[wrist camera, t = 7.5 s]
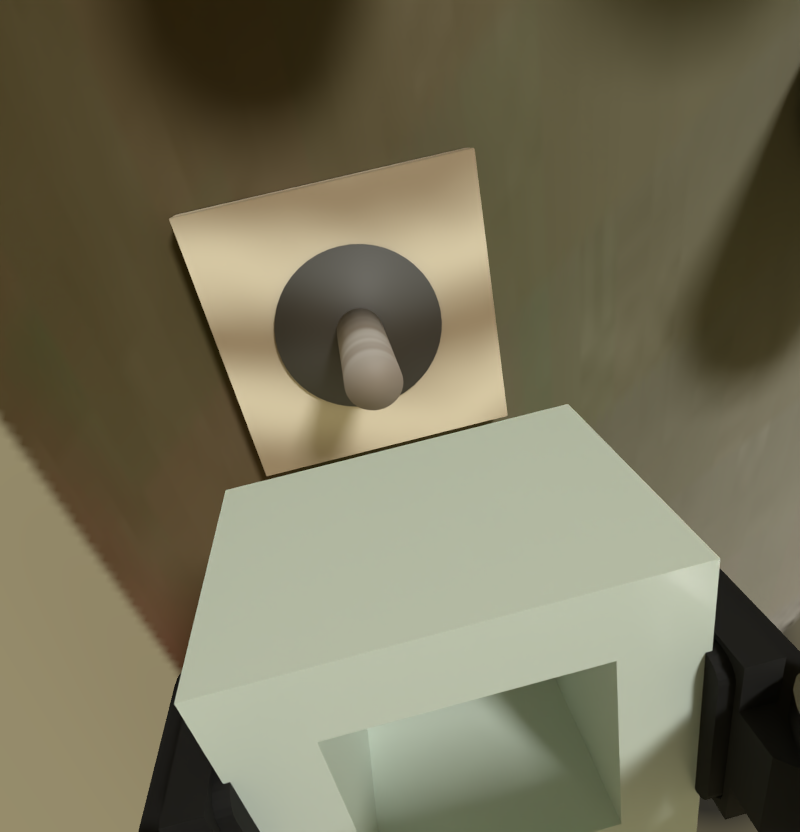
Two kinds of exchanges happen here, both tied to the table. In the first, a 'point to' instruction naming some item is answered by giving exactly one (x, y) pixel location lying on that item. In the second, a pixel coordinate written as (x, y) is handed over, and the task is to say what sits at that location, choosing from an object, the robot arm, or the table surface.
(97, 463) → the table surface
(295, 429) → the post base
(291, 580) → the collar
